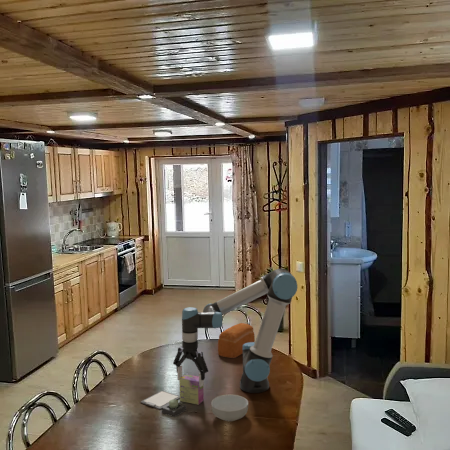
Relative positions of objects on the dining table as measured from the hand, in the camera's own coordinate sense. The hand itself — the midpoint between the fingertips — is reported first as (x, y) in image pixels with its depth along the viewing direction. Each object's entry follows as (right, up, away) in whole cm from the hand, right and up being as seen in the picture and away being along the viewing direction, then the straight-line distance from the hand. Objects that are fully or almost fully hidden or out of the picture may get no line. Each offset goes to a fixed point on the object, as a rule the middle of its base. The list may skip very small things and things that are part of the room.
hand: (190, 382), depth 234 cm
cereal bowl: (+19, -11, -16) cm, 27 cm away
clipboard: (-15, -9, +2) cm, 17 cm away
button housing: (-7, -10, -10) cm, 16 cm away
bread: (+24, -3, +69) cm, 73 cm away
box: (+1, -9, +1) cm, 9 cm away
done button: (-7, -8, -10) cm, 14 cm away
